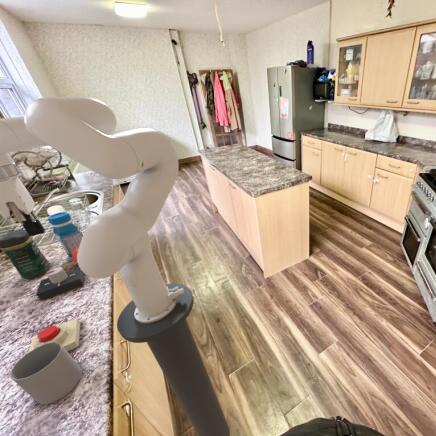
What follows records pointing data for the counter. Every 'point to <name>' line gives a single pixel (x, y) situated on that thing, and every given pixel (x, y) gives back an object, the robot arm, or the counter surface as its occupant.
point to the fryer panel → (60, 284)
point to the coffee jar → (24, 253)
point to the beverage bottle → (66, 232)
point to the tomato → (75, 254)
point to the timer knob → (57, 275)
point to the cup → (46, 373)
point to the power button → (48, 333)
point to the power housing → (62, 336)
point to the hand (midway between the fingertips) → (37, 233)
